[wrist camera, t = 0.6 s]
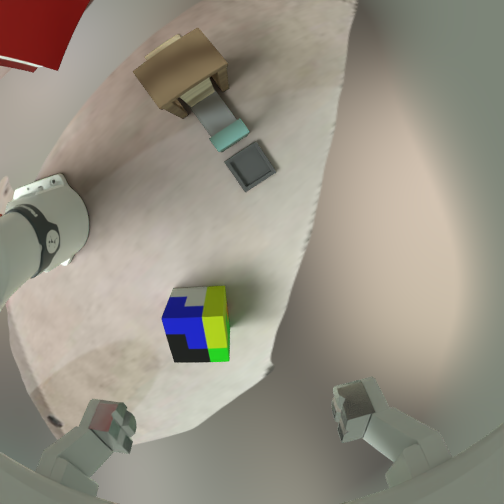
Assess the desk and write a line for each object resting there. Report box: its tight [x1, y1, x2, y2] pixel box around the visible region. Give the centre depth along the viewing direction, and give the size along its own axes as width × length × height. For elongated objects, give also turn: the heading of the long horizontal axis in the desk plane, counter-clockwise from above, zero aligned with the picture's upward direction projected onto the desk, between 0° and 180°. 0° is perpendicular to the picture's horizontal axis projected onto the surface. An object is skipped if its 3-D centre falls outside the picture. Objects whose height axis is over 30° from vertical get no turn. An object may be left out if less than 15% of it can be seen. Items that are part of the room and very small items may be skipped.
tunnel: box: [133, 28, 229, 119], centre depth 31 cm, size 6×9×14 cm
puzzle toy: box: [162, 286, 230, 362], centre depth 48 cm, size 10×10×10 cm
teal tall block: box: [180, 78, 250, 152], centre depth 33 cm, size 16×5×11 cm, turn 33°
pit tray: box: [225, 142, 276, 192], centre depth 42 cm, size 6×6×1 cm
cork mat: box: [145, 34, 181, 60], centre depth 35 cm, size 7×7×1 cm
